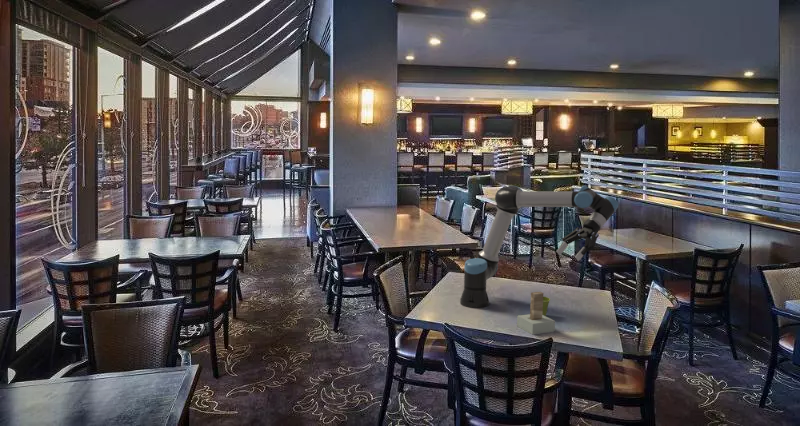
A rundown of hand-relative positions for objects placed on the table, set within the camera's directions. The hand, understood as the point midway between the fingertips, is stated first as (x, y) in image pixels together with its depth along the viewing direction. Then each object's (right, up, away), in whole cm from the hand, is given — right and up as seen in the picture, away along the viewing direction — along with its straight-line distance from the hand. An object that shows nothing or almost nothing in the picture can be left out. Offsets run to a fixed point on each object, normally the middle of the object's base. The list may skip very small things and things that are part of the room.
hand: (567, 256), depth 255 cm
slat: (-17, -32, -9) cm, 37 cm away
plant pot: (-10, -31, +11) cm, 34 cm away
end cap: (-17, -33, -9) cm, 38 cm away
